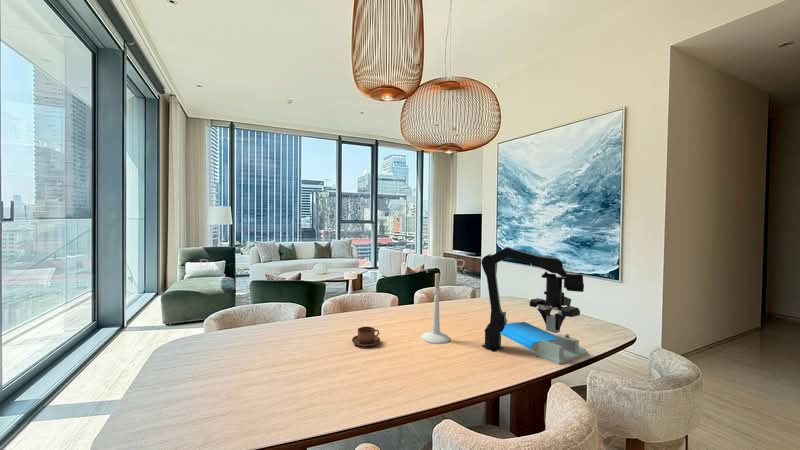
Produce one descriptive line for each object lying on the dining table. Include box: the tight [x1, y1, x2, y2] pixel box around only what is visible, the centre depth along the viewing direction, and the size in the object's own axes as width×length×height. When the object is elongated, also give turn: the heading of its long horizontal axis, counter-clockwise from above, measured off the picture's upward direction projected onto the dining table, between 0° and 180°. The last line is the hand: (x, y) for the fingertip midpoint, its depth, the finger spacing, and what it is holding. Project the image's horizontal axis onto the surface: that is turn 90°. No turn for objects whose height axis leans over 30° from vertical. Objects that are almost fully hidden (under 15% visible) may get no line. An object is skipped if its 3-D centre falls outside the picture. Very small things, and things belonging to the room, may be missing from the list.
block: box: [545, 314, 561, 334], centre depth 134 cm, size 3×4×6 cm
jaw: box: [555, 333, 580, 353], centre depth 140 cm, size 3×9×6 cm, turn 32°
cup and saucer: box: [351, 326, 381, 347], centre depth 145 cm, size 12×12×6 cm
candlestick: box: [420, 272, 451, 345], centre depth 152 cm, size 13×13×30 cm
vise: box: [533, 339, 589, 365], centre depth 138 cm, size 20×11×6 cm, turn 122°
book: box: [499, 321, 556, 351], centre depth 156 cm, size 17×4×25 cm
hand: (553, 328), depth 134 cm, fingers closed on block, 4 cm apart
